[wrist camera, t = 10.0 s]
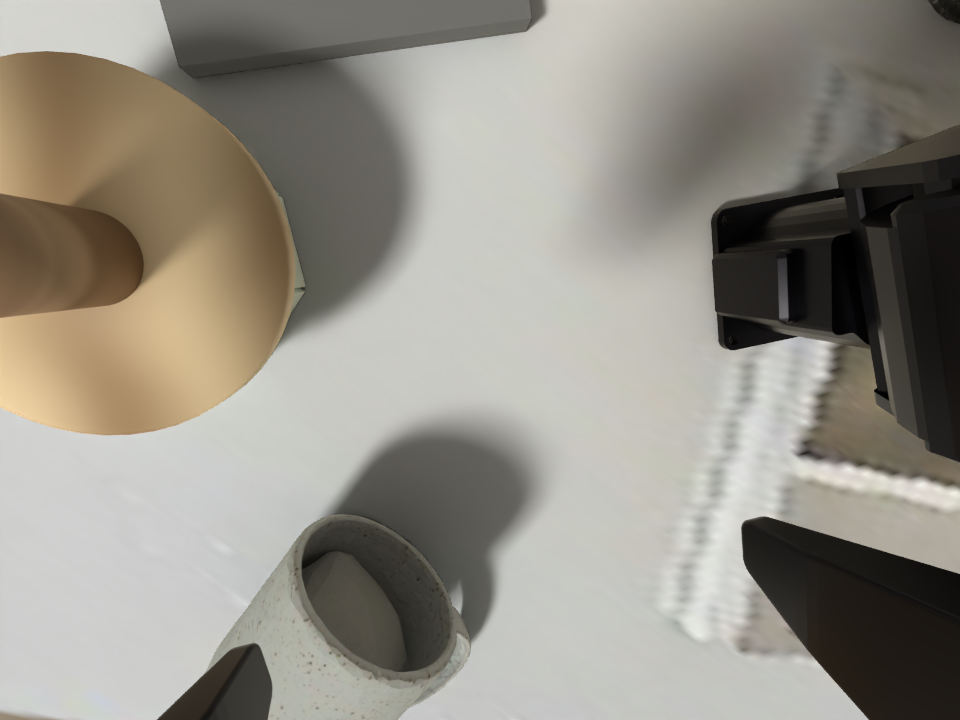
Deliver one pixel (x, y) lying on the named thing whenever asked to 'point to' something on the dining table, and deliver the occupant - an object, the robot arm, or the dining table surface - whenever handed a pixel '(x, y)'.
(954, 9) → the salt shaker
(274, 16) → the mat
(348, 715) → the ceramic mug
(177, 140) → the lid
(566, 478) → the dining table surface
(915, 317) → the robot arm
